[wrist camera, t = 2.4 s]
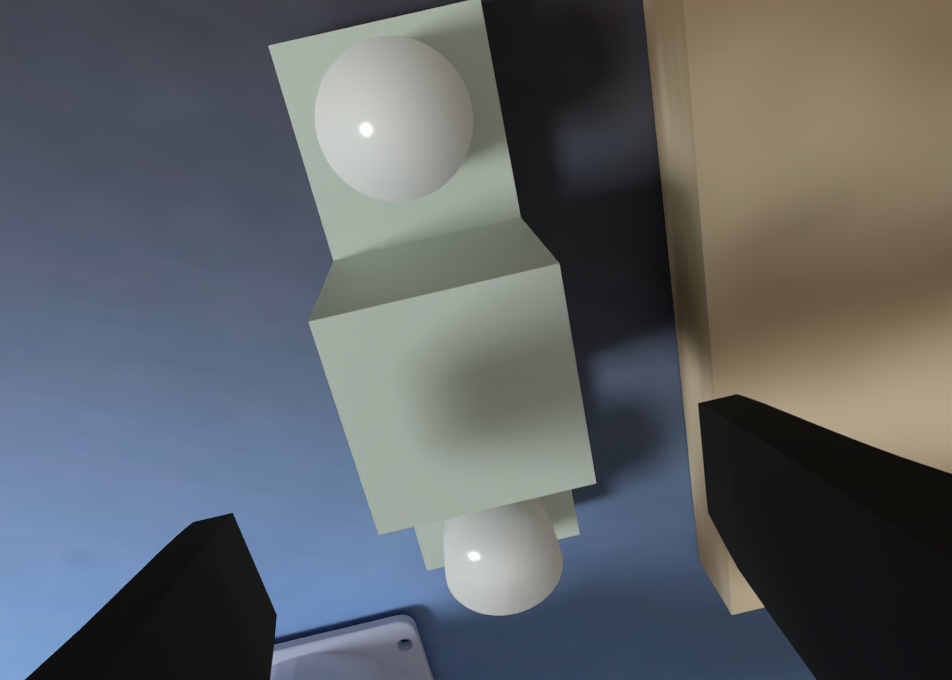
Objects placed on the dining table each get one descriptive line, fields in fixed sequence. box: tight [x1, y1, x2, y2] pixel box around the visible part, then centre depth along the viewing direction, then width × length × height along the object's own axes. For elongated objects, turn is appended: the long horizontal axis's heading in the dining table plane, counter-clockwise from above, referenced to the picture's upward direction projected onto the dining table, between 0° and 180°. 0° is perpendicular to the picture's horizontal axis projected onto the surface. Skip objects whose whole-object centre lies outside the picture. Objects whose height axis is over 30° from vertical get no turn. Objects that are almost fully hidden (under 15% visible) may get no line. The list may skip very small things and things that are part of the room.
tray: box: [269, 0, 596, 616], centre depth 16 cm, size 15×5×6 cm, turn 12°
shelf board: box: [643, 0, 952, 615], centre depth 18 cm, size 18×11×2 cm, turn 12°
